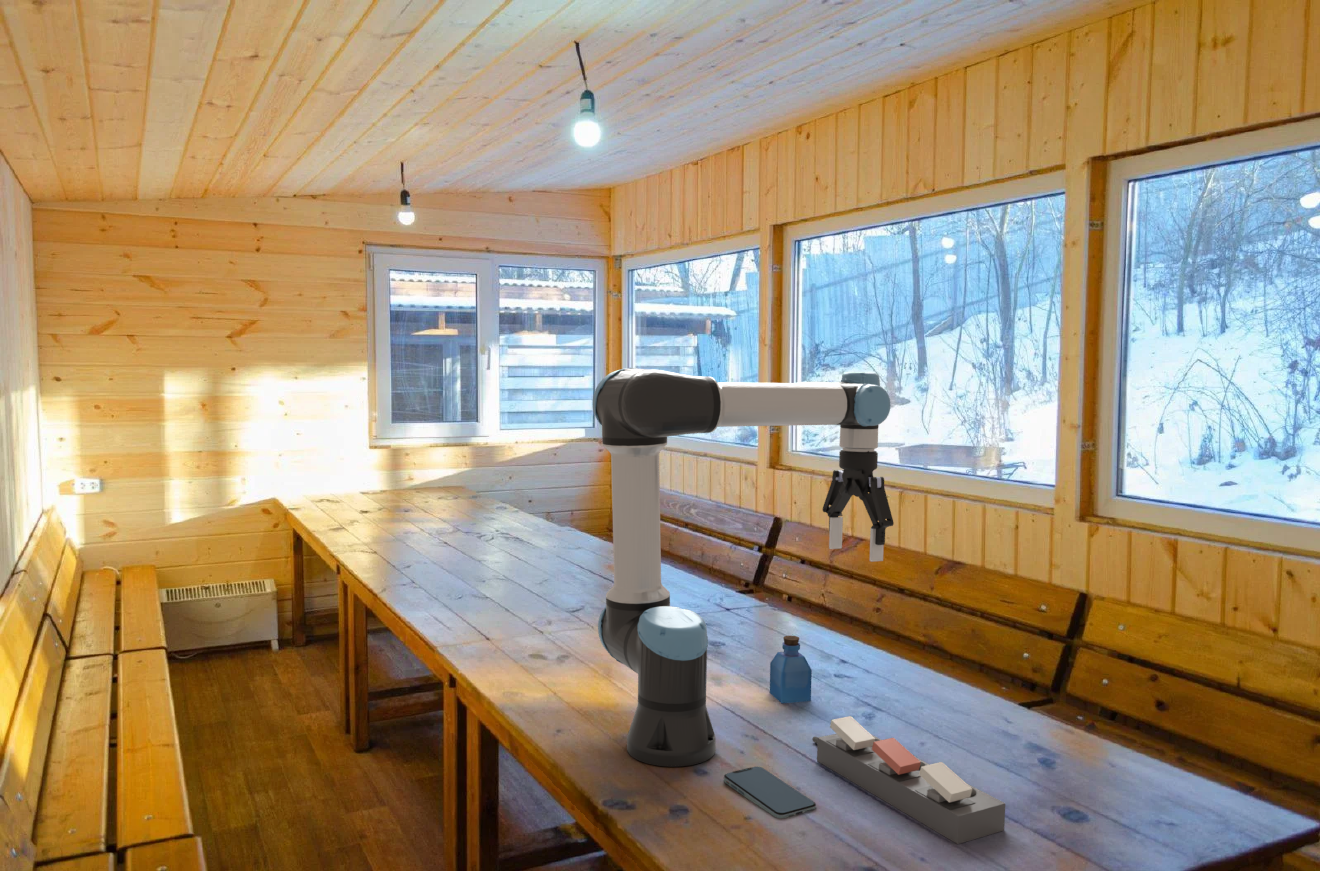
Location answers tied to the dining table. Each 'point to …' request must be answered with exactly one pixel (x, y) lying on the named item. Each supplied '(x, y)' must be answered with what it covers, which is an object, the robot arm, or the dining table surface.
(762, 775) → the smartphone
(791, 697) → the perfume bottle
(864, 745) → the rocker far
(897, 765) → the rocker mid
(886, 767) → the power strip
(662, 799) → the dining table surface
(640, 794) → the dining table surface
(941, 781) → the rocker near
